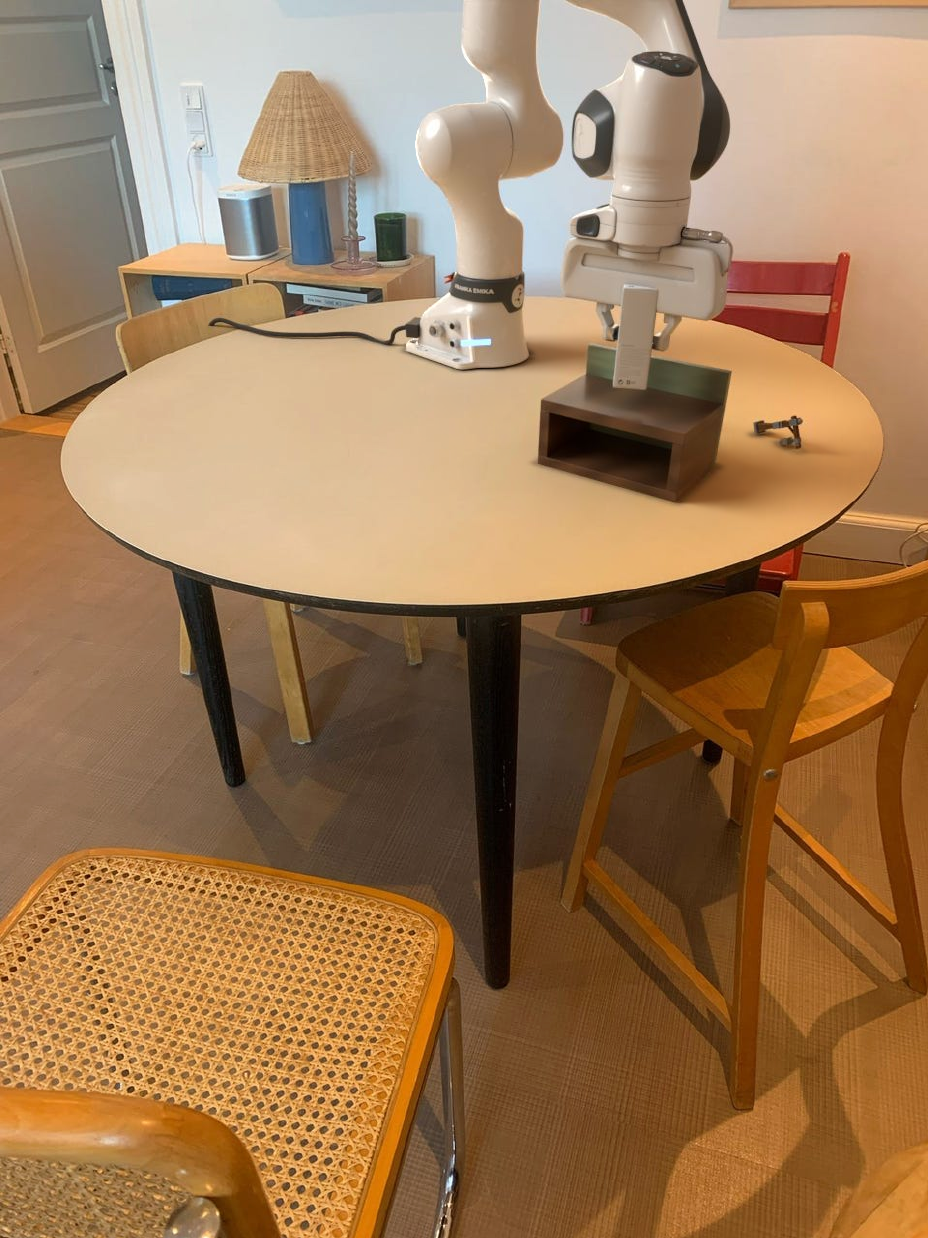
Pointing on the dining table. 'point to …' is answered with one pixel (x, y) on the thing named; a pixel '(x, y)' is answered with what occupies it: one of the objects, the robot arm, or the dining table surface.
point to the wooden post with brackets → (794, 421)
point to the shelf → (636, 425)
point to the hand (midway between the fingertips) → (634, 344)
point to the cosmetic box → (635, 337)
